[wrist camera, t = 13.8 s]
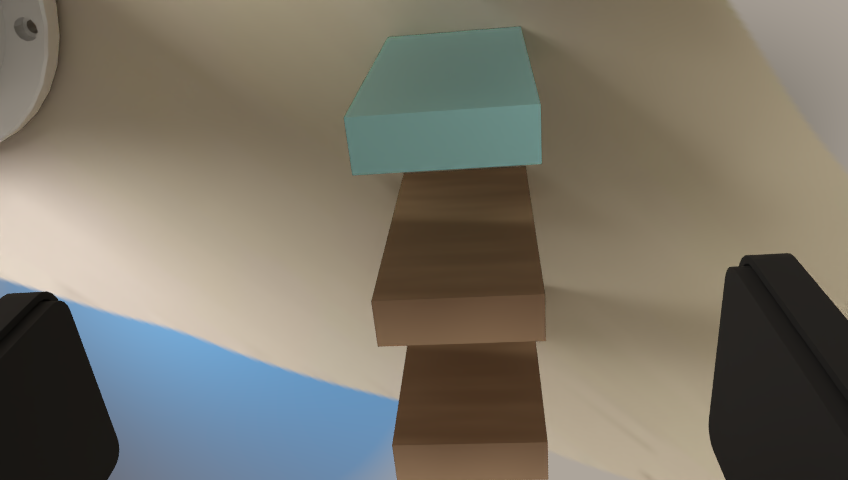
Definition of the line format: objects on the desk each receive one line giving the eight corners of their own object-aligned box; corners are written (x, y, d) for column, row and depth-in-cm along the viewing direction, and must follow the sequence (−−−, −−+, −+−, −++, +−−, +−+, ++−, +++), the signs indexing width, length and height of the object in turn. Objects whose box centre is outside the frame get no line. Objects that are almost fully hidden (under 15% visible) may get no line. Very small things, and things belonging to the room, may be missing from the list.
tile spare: (387, 36, 27) (344, 117, 19) (520, 26, 27) (540, 103, 18) (392, 78, 28) (352, 175, 19) (521, 69, 28) (541, 164, 19)
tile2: (526, 202, 30) (545, 341, 21) (407, 208, 31) (378, 346, 22) (525, 166, 29) (545, 294, 21) (403, 173, 30) (371, 301, 21)
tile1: (529, 313, 33) (547, 479, 24) (419, 317, 33) (397, 481, 24) (528, 282, 32) (547, 442, 23) (416, 287, 32) (392, 445, 24)
